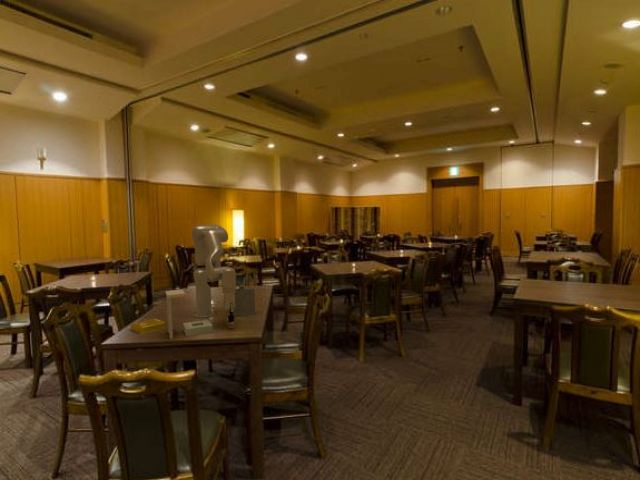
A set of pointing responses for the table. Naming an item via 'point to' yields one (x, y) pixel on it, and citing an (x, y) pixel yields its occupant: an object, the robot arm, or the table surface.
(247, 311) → the hip flask
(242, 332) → the table surface
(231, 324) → the peg
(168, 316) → the socket block
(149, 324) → the element tile
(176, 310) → the table surface
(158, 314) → the table surface
